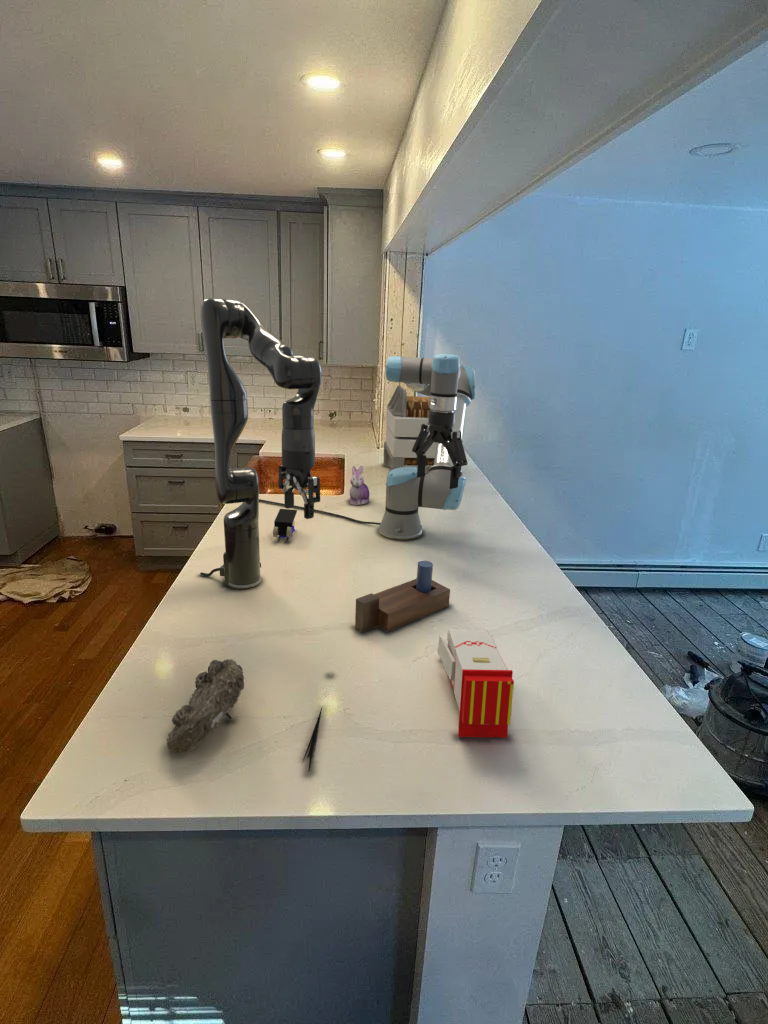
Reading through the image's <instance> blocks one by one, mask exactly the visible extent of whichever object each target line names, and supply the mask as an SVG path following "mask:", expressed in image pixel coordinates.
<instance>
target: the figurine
mask: <svg viewBox="0 0 768 1024" xmlns="http://www.w3.org/2000/svg"><path fill="white" fill-rule="evenodd" d="M363 471H364V465H360V466H359V467H358V469H357V468H356V466H354V465H353V466H351V472H352V475H351V476H350V479H349V482H350V485H351V486H350V489H349V499H348V501H349V502H348V503H349V504H350V505H353V506H360V505H365V504H367V503H369V501H370V489H369V486H368V485H367V484H366V483H365V479H364V476H363Z"/></svg>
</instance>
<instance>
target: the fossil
mask: <svg viewBox="0 0 768 1024" xmlns="http://www.w3.org/2000/svg"><path fill="white" fill-rule="evenodd" d="M243 670H244V669H243V667H242V665H240V664H237V662H236V661H235V660H234V659H232V658H231V659H227V658H226V659H224V660H223V661H222V660H217V659H212V660H211V661H210V663H209V665H208V666H207V671H201V672H199V673H198V674H197V675H196V676H195V680H194V684H195V685H194V687H195V689H194V690H193V693H192V694H191V697H190V698H189V700H188V704H184V705H182V706H181V707H180V709H177V710H176V711H175V713H174V715H173V716H172V718H171V723H172V724H173V727H172V730H171V731H170V732H168V734H167V738H166V741H167V742H166V745H167V749H168V750H169V751H173V752H174V753H176V754H178V753H182V752H188V751H189V752H192V751H193V750H195V748H196V747H197V746H199V744H200V743H201V742H203V741H204V740H205V739H206V738H207V737H208V736H209V735H210V734H211V733H212V732H214V730H215V729H217V727H218V726H219V724H220V722H221V721H222V720H223V719H224V718H225V716H226V717H227V719H229V720H233V717H232V715H230V714H229V710H230V709H231V708H234V706H235V704H236V703H237V702H238V699H239V697H240V695H241V693H242V691H243V690H245V689H244V688H245V675H244V671H243Z"/></svg>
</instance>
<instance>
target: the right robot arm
mask: <svg viewBox="0 0 768 1024" xmlns="http://www.w3.org/2000/svg"><path fill="white" fill-rule="evenodd" d="M460 363H461V362H460V356H459V355H456V354H449V353H437V354H434V355H433V357H415V356H414V357H413V356H401V355H396V356H395V355H394V356H393V355H390V356H389V357H387V360H386V364H385V378H386V380H387V381H388V382H392V383H403V384H404V385H406V387H407V388H408V389H409V390H411V391H412V392H415V393H417V394H420V395H423V396H425V397H430V407H429V408H430V409H431V410H430V411H429V419H428V422H429V423H427V424H422V425H421V431H420V433H419V435H418V438H417V440H416V442H415V444H414V446H413V448H412V452H415V453H416V455H417V463H416V464H417V466H404V467H400V468H396V469H393V470H391V471H390V470H389V472H388V473H387V475H386V482H385V504H384V505H385V507H384V508H385V509H384V513H383V515H382V519H381V522H375V521H364V520H363V521H362V520H358V519H355V518H352V517H349V516H346V515H341V514H338V513H334V512H333V513H332V512H328V511H325V510H319V509H315V508H314V512H316V513H321V514H326V515H328V516H333V517H338V518H342V519H346V520H348V521H352V522H356V523H359V524H364V525H377V526H378V533H379V534H380V535H381V536H382V537H385V538H387V539H389V540H395V541H410V540H415V539H418V538H420V537H421V536H422V535H423V525H422V524H421V518H420V515H419V508H427V509H436V510H443V511H447V510H448V511H456V510H458V509H459V508H460V506H461V502H462V500H463V496H464V493H465V492H464V491H465V486H466V480H467V479H466V477H465V476H463V471H462V467H464V466H468V458H467V454H466V452H465V447H464V443H462V441H463V438H462V433H463V434H464V432H463V424H464V425H465V421H464V420H465V416H466V415H465V414H466V408H467V407H469V406H470V404H471V401H473V400H475V399H476V371H475V368H474V367H472V366H469V365H463V364H461V365H460ZM429 432H430V435H429V436H428V437H427V435H428V433H429ZM426 437H427V438H426ZM425 439H427V440H426V441H425ZM424 441H425V442H424ZM434 442H435V443H436V442H437V444H436V451H435V459H434V465H433V466H432V465H430V466H429V468H428V471H427V473H426V467H427V466H426V455H424V454H425V452H426V451H427V450H428V449H429V448H430V446H431V445H432V444H433V443H434ZM259 502H262V503H267V504H272V505H279V506H284V507H285V503H283V502H277V501H271V500H266V499H261V498H259ZM293 508H295V509H302V510H304V506H300V505H294V507H293Z"/></svg>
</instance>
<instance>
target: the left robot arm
mask: <svg viewBox="0 0 768 1024" xmlns="http://www.w3.org/2000/svg"><path fill="white" fill-rule="evenodd" d="M200 307H201V308H200V325H201V331H202V338H203V345H204V350H205V356H206V364H207V373H208V383H209V384H208V387H209V403H210V416H211V424H212V425H211V426H212V431H213V432H212V434H213V444H214V445H213V446H214V481H215V483H214V484H215V492H216V498H217V500H218V501H219V503H221V504H223V505H231V504H239V503H240V505H239V506H238V507H236V508H234V509H233V510H231V511H229V512H227V513H226V514H225V515H224V516H223V532H224V533H223V534H224V547H225V548H224V552H223V554H222V558H223V559H222V561H223V563H222V565H221V566H220V567H218V568H214V569H212V570H210V572H208V573H206V572H200V573H199V575H200V576H203V577H210V576H212V575H213V574H214V573H216V572H219V576H220V577H224V586H228V587H230V588H233V589H238V590H239V589H240V590H243V589H251V588H254V587H256V586H258V585H259V584H260V583H261V582H262V576H261V568H262V563H261V555H260V527H259V524H260V523H259V519H260V518H259V517H260V507H259V506H260V504H259V503H260V501H259V499H260V480H259V474H258V471H256V469H255V468H254V467H250V466H245V467H234V468H230V463H231V456H232V453H233V450H234V448H235V446H236V444H237V442H238V440H239V438H240V437H241V435H242V433H243V431H244V429H245V427H246V425H247V422H248V419H249V404H248V393H247V389H246V388H245V385H244V384H243V382H242V380H241V379H240V377H239V375H237V372H236V371H235V370H234V368H233V366H232V365H231V363H230V361H229V359H228V356H227V353H226V348H225V343H224V339H235V340H236V339H242V340H244V341H247V342H248V343H247V344H248V345H247V346H248V349H249V353H250V355H251V356H252V357H253V358H254V359H255V360H256V361H257V362H258V363H260V365H262V366H263V367H264V368H266V369H267V371H268V373H269V375H270V376H271V379H272V380H273V382H274V383H275V385H277V386H278V387H279V388H281V389H284V390H297V392H296V394H295V396H294V397H291V398H290V399H286V400H285V401H284V402H283V403H282V405H281V406H282V407H281V416H282V417H281V418H282V421H281V422H282V430H281V464H280V465H279V464H278V489H280V490H282V493H283V494H284V498H283V499H284V500H283V501H284V504H285V506H284V509H292V508H295V507H294V506H295V492H294V491H295V490H296V491H298V495H300V496H301V497H302V499H303V502H304V503H303V507H304V509H303V518H304V519H305V520H310V519H313V518H314V516H315V511H314V509H315V504H316V503H320V502H321V479H320V476H312V471H311V470H312V468H314V467H315V465H316V435H315V434H316V433H315V406H316V403H317V400H318V399H317V398H318V395H319V393H320V392H319V391H320V388H321V384H322V379H323V371H322V366H321V364H320V361H319V360H318V359H317V358H316V357H315V356H312V355H294V353H293V350H292V349H291V347H290V346H289V345H288V344H286V343H285V341H283V340H281V338H278V337H277V336H276V335H275V334H273V333H271V331H269V330H268V329H267V328H266V326H265V325H263V323H262V322H261V321H260V320H259V319H258V318H257V316H256V315H255V314H254V313H253V312H252V310H251V308H249V307H248V306H247V305H246V304H244V303H243V302H242V301H240V300H237V299H227V298H216V297H208V298H206V299H204V300H203V301H202V303H201V306H200ZM284 480H285V481H284Z"/></svg>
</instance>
